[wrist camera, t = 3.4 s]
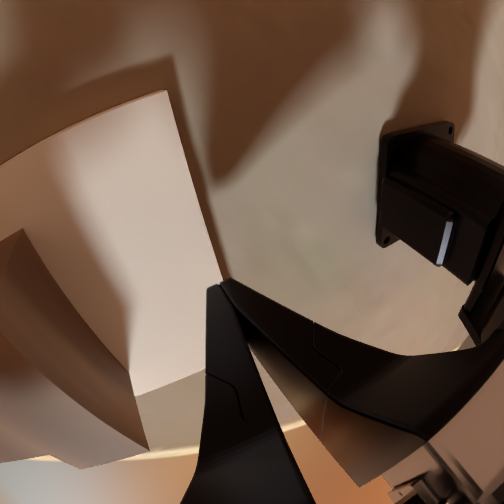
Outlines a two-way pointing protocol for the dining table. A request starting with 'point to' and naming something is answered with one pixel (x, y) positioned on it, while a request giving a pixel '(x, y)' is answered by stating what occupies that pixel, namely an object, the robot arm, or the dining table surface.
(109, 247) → the board
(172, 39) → the dining table surface
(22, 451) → the walnut T block
